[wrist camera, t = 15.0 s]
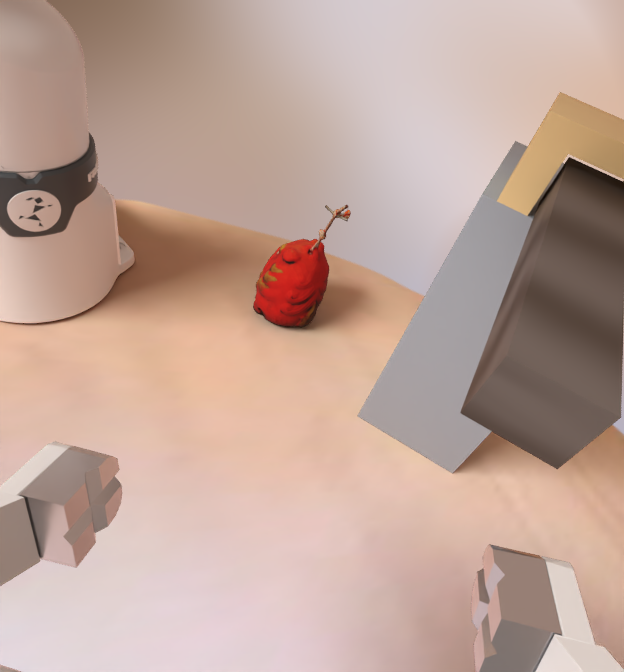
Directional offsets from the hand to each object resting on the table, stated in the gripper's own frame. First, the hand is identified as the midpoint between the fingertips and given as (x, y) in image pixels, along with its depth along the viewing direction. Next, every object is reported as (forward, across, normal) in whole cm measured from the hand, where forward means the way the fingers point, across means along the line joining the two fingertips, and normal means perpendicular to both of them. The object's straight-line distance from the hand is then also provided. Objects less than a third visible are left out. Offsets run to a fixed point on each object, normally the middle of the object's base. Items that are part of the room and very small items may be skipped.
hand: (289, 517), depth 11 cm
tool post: (+36, -6, +20) cm, 41 cm away
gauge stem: (+16, -8, 0) cm, 18 cm away
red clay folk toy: (+40, +10, +14) cm, 44 cm away
